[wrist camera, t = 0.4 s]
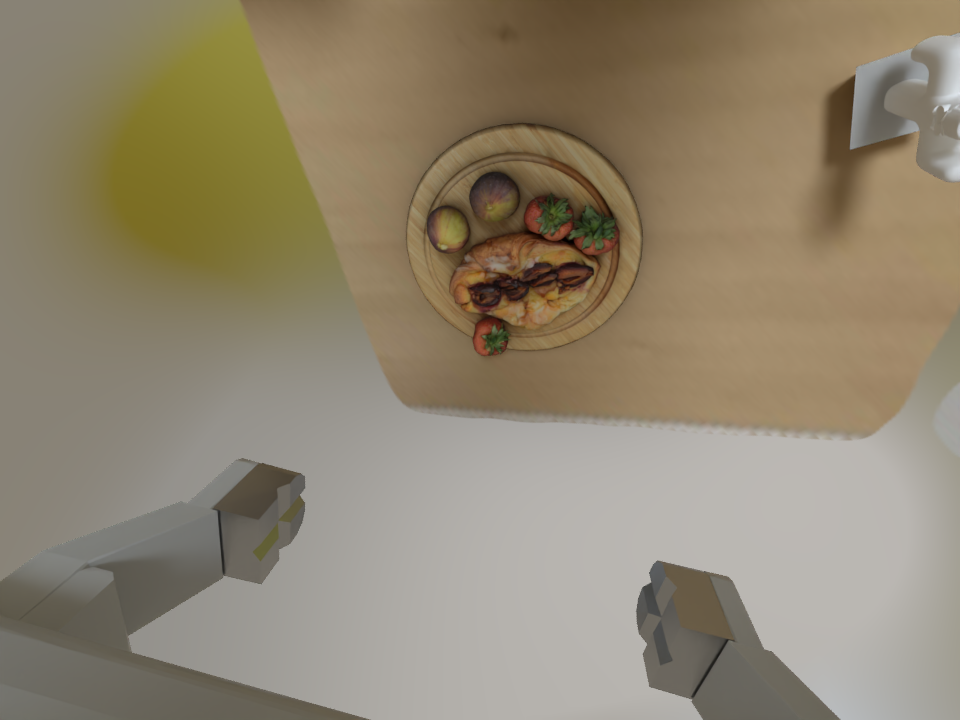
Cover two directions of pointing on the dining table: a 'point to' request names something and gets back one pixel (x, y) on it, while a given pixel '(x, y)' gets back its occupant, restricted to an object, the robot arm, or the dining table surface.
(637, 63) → the dining table surface
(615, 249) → the wooden plate with food
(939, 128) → the figurine
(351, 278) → the dining table surface
